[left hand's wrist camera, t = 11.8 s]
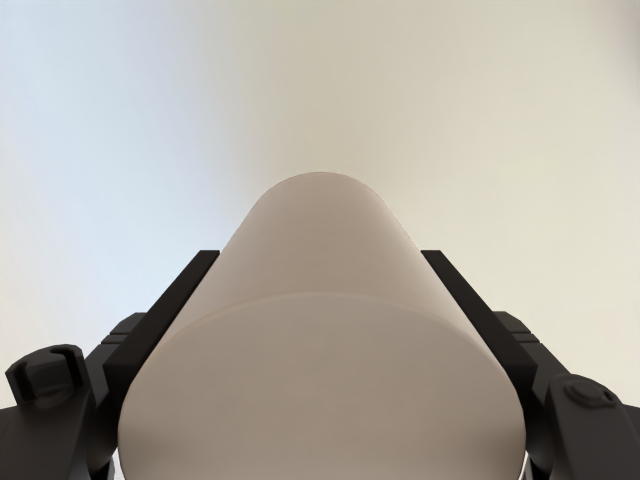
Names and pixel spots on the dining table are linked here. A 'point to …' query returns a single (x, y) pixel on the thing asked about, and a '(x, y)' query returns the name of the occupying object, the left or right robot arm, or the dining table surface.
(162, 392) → the canister
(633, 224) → the dining table surface
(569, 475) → the left robot arm
